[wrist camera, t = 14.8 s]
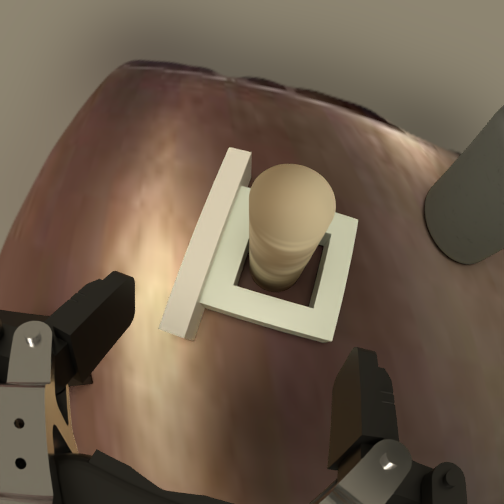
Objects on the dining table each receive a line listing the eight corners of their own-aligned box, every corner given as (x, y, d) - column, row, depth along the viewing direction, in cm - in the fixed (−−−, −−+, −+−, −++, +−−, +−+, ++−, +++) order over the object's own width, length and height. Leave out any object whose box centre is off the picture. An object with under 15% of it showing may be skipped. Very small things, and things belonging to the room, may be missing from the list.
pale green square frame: (348, 232, 28) (358, 219, 25) (323, 342, 24) (331, 341, 22) (241, 201, 28) (241, 185, 26) (204, 307, 25) (199, 302, 23)
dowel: (306, 250, 27) (342, 177, 16) (293, 298, 26) (325, 252, 14) (258, 236, 28) (263, 155, 16) (242, 283, 26) (236, 226, 15)
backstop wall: (251, 177, 30) (251, 152, 26) (194, 340, 25) (183, 338, 21) (231, 172, 30) (229, 147, 26) (171, 332, 25) (158, 328, 21)
